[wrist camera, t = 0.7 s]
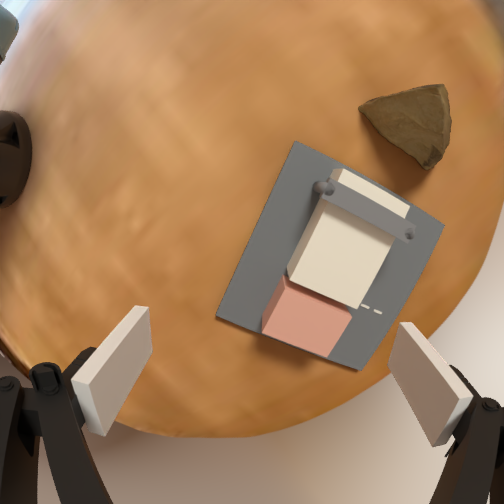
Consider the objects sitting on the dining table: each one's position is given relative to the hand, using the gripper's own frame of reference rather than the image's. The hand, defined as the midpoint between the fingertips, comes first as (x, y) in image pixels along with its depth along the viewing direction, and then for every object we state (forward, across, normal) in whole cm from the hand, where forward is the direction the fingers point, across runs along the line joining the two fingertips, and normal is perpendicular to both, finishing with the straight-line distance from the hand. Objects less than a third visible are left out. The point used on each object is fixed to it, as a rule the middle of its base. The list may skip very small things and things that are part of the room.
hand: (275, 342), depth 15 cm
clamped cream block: (+20, +8, +2) cm, 21 cm away
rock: (+21, +15, +15) cm, 30 cm away
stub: (+20, +5, -7) cm, 21 cm away
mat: (+21, +8, -2) cm, 22 cm away
